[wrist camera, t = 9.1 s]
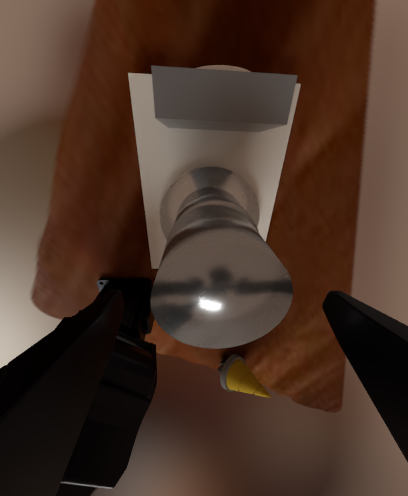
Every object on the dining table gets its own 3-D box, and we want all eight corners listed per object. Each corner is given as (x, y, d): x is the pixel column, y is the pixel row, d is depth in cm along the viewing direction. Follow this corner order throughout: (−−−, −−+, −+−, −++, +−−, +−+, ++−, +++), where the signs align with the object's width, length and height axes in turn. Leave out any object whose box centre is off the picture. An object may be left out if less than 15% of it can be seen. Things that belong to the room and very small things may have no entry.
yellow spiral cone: (211, 349, 31) (263, 380, 24) (230, 345, 35) (281, 372, 27) (205, 382, 31) (258, 426, 23) (226, 375, 34) (277, 412, 27)
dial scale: (155, 258, 22) (139, 302, 15) (136, 82, 14) (89, 29, 8) (254, 259, 22) (276, 302, 16) (288, 91, 15) (355, 50, 8)
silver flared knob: (170, 284, 13) (157, 350, 9) (163, 203, 11) (140, 242, 6) (249, 283, 14) (275, 346, 9) (264, 205, 11) (312, 243, 6)
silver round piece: (177, 249, 18) (171, 282, 13) (175, 185, 15) (167, 201, 10) (238, 250, 18) (251, 283, 14) (247, 188, 15) (268, 204, 11)
